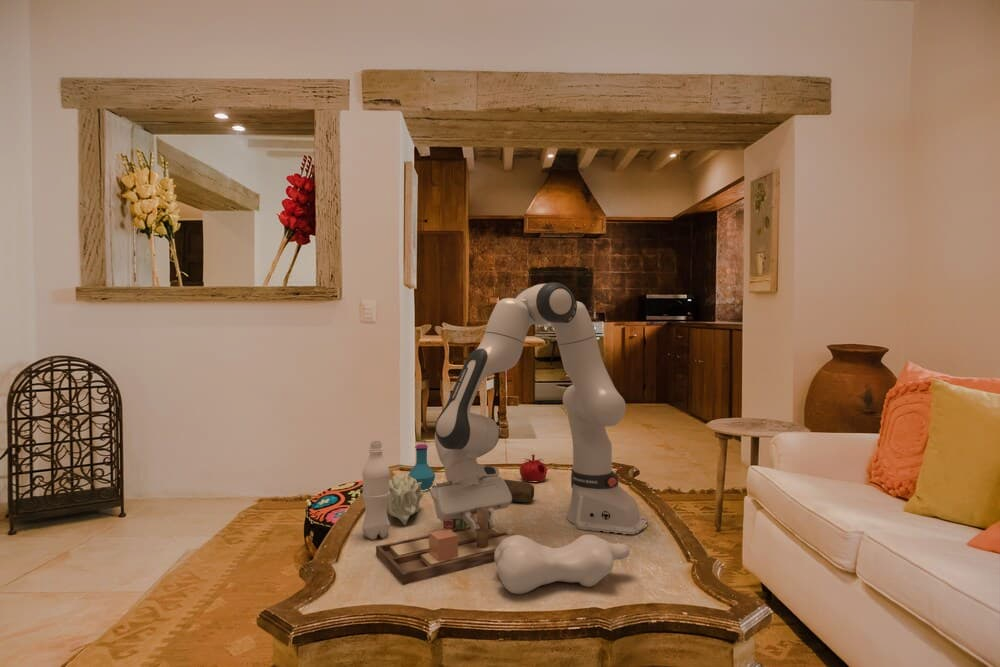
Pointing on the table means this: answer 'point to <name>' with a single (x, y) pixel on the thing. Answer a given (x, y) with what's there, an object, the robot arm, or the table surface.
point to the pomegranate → (533, 470)
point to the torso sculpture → (554, 562)
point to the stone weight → (520, 491)
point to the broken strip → (424, 543)
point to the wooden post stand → (475, 547)
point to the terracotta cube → (443, 544)
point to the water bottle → (376, 493)
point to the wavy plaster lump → (404, 497)
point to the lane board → (416, 570)
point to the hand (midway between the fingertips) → (484, 528)
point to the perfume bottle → (422, 468)
